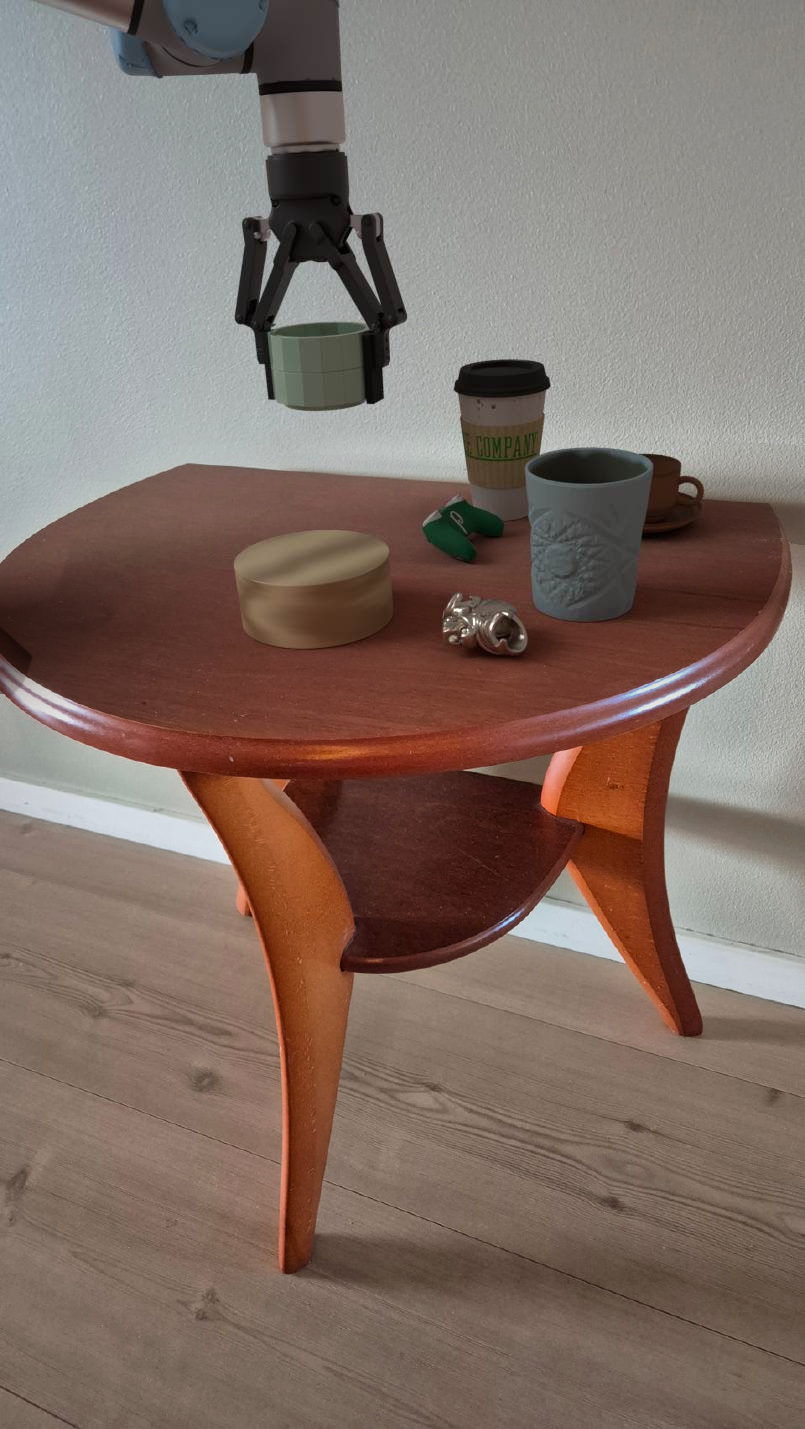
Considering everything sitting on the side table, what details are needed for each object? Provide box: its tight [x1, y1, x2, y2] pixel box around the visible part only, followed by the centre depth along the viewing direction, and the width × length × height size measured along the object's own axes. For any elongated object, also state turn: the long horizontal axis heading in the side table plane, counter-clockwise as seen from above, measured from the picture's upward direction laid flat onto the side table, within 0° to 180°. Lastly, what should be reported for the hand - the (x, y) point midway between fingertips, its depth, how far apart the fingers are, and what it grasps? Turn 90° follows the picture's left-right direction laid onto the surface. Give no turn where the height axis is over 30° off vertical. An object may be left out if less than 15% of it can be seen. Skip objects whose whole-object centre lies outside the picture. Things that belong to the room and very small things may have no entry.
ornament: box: [441, 592, 529, 657], centre depth 78 cm, size 8×7×4 cm
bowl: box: [267, 321, 370, 412], centre depth 99 cm, size 10×10×7 cm
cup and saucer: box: [639, 453, 705, 534], centre depth 100 cm, size 12×12×6 cm
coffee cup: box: [453, 358, 552, 522], centre depth 103 cm, size 10×10×15 cm
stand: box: [233, 529, 394, 650], centre depth 84 cm, size 13×13×6 cm
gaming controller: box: [421, 492, 505, 563], centre depth 98 cm, size 9×4×6 cm
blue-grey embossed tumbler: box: [525, 446, 653, 623], centre depth 82 cm, size 10×10×12 cm
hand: (325, 399), depth 101 cm, fingers closed on bowl, 10 cm apart
